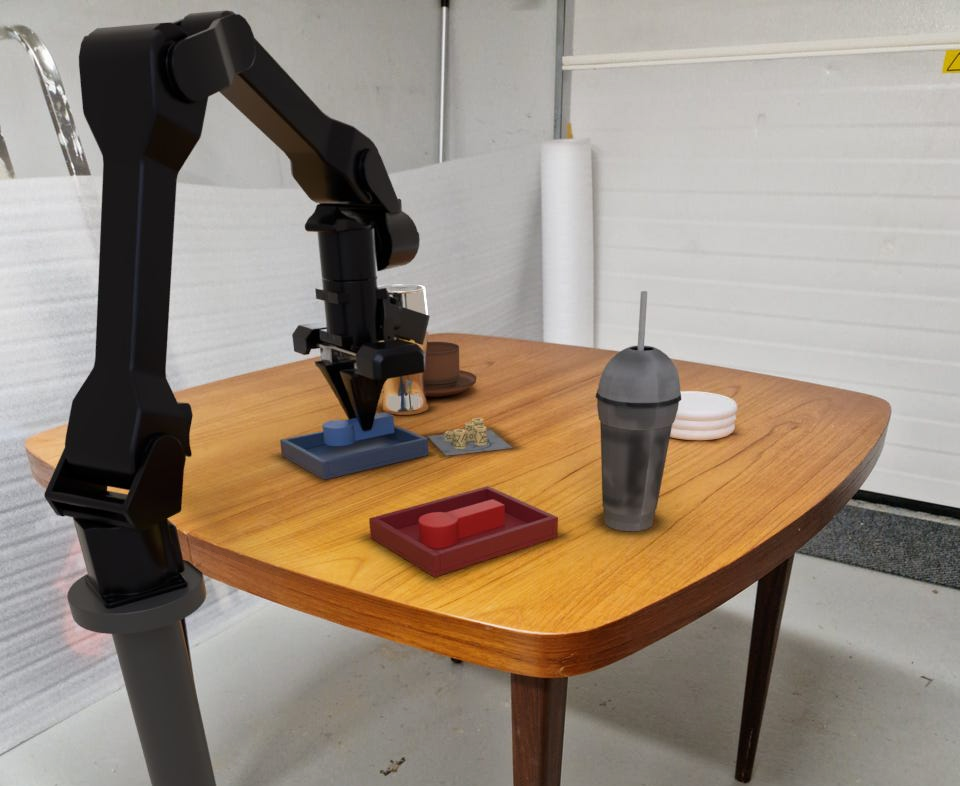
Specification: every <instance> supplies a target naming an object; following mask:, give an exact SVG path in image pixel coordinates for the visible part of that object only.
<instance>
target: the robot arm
mask: <svg viewBox="0 0 960 786" xmlns="http://www.w3.org/2000/svg"><path fill="white" fill-rule="evenodd" d="M78 70H79V82H80V92H81V93H80V94H81V103H82V105H81V106H82V113H83V116H84V119H85V121H86V123H87V125H88V128H89V129H90V132H91V134H92V136H93V138H94V140H95V142H96V145H97V147H98V150H99V151H100V154H101V156H102V163H103V164H102V187H101V209H100V211H101V212H100V234H99V256H98V258H99V259H98V278H97V279H98V281H97V304H96V330H95V331H96V332H95V351H94V352H95V353H94V363H93V367H92V369H91V371H90V372H89V374H88V376H87V377H86V378H85V380H84V382H83V383H82V384H81V386H80V388H79V390H78V391H77V392H76V394H75V396H74V397H73V399H72V402H71V406H70V412H69V417H68V423H67V428H66V434H65V440H64V448H63V450H62V453H61V455H60V457H59V459H58V462H57V465H56V466H55V469H54V471H53V473H52V475H51V477H50V479H49V482H48V483H47V486H46V489H45V491H44V493H43V494H44V498H45V501H46V502H47V503H48V505H49V506H50V508H51V509H52V511H53V512H54V513H55V515H56V516H58V517H68V518H72V521H73V524H74V527H75V531H76V535H77V539H78V543H79V546H80V550H81V553H82V557H83V562H84V565H85V568H86V573H87V574H88V575H86V574H85V575H86V576H85V577H84V579H85V583H86V584H87V585H88V587H89V588H90V589H91V590H92V592H93V593H94V594H95V595H96V597H97V598H98V599H99V600H100V602H101V603H102V604H103V605H104V607H105V608H107V609H112V608H116V607H119V606H123V605H126V604H130V603H133V602H137V601H140V600H144V599H148V598H151V597H155V596H158V595H162V594H165V593H169V592H172V591H176V590H179V589H183V588H186V587H187V586H188V583H187V580H186V579H185V578H184V577H183V576H182V575H181V574H180V573H182V572H184V570H185V567H184V562H183V560H184V558H183V553H182V547H181V543H180V539H179V534H178V528H177V525H175V524H174V523H173V522H172V521H170V520H169V518H171V517H173V516H175V515H177V514H179V513H181V512H182V507H183V493H184V478H185V477H184V475H185V474H184V473H185V466H186V461H187V458H191V457H192V449H191V442H190V440H191V438H190V433H191V427H192V422H193V415H194V414H193V410H192V405H191V404H190V403H189V402H183V401H178V400H177V398H176V396H175V394H174V392H173V389H172V387H171V385H170V382H169V381H168V379H167V355H168V354H167V353H168V337H169V320H170V302H171V284H172V282H171V281H172V267H173V266H172V265H173V253H174V251H173V249H174V233H175V216H176V215H175V214H176V202H177V201H176V199H177V183H178V182H177V181H178V176H179V173H180V171H181V170H182V168H183V167H184V165H185V163H187V162H186V161H187V160H188V159H189V157H190V155H191V154H192V152H193V151H194V149H195V148H196V146H197V144H198V143H199V141H200V140H201V138H202V134H203V127H204V123H205V118H206V113H207V106H208V101H209V97H211V96H213V95H215V94H217V93H219V94H221V95H222V96H223V97H224V98H225V99H226V100H227V101H229V102H230V103H231V104H232V105H233V106H234V107H235V108H236V109H237V110H238V111H239V112H240V113H241V114H242V115H243V116H245V117H246V119H248V120H249V121H250V122H251V123H252V124H253V125H254V126H255V127H256V128H257V129H258V130H259V131H261V132H262V133H263V135H265V136H266V137H267V138H268V139H269V140H270V141H271V142H272V143H273V144H275V146H277V148H279V150H281V151H282V152H283V153H284V154H285V156H286V157H287V159H289V163H290V174H291V176H292V178H293V179H294V180H295V182H296V183H297V184H298V185H299V187H300V188H301V190H302V191H303V192H304V193H305V195H306V196H307V197H308V198H309V199H310V201H312V202H314V203H315V204H316V206H315V210H314V212H312V214H311V215H310V216H309V217H308V218H307V220H306V222H305V224H304V230H305V231H306V232H309V233H316V234H317V242H318V252H319V253H318V254H319V263H320V273H321V283H322V285H321V286H322V287H317V288H315V299H316V300H320V301H322V302H323V304H324V315H325V321H320V322H319V321H318V322H312V323H304V324H298V325H297V326H296V328H295V330H294V331H293V333H292V334H291V337H292V344H293V345H292V346H293V352H295V353H298V354H300V355H303V356H308V355H310V353H311V351H312V350H317V349H319V352H320V359H319V360H315V361H314V364H315V365H314V366H315V367H317V368H318V369H319V371H320V372H321V374H322V376H323V378H324V379H325V381H326V382H327V384H328V385H329V387H330V389H331V390H332V392H333V394H334V396H335V397H336V399H337V401H338V403H339V404H340V406H341V409H343V410H342V411H344V414H345V415H346V417H347V420H348V419H353V418H357V420H358V422H359V424H360V427H361V429H362V430H363V431H368V430H371V429H372V426H373V422H374V418H375V414H377V410H378V405H379V401H380V397H381V394H382V391H383V389H384V383H385V382H386V380H387V379H389V378H395V377H401V376H406V375H412V374H418V373H423V372H425V371H426V364H425V352H424V351H423V350H422V349H421V348H420V347H419V346H418V344H421V345H423V343H424V339H425V335H426V330H427V326H428V327H429V321H430V315H429V314H428V315H426V314H423V313H420V312H417V311H413V310H410V309H407V308H404V307H401V306H400V303H399V299H398V298H395V297H390V296H389V292H388V291H387V288H383V287H378V286H379V277H378V274H379V273H378V272H382V271H386V270H389V269H394V268H398V267H402V266H406V265H407V264H409V263H411V262H412V261H413V260H414V259H415V258H416V257H417V254H418V253H419V252H418V251H419V248H420V241H421V239H420V233H419V232H418V228H417V225H416V223H415V222H414V220H413V219H412V217H410V215H409V214H407V213H406V212H404V211H403V206H402V205H403V204H402V203H403V202H402V199H401V198H398V196H397V193H396V191H395V188H394V186H393V182H392V181H391V178H390V176H389V173H388V170H387V168H386V166H385V163H384V160H383V158H382V156H381V155H380V152H379V150H378V148H377V145H376V144H375V142H374V141H373V140H372V139H371V137H369V136H367V135H366V134H365V133H363V132H362V131H361V130H360V129H358V128H357V127H355V126H354V125H351V124H349V123H346V122H343V121H340V120H338V119H335V118H332V117H331V116H329V115H328V114H326V113H325V112H324V111H323V110H322V109H321V108H320V107H319V106H318V105H317V104H316V103H315V101H314V100H312V99H311V97H310V96H309V95H308V94H307V92H305V91H304V90H303V88H301V86H300V85H299V84H298V83H297V82H296V81H295V80H294V79H293V78H292V76H290V74H289V73H288V72H287V71H286V70H285V69H284V68H283V67H282V66H281V65H280V64H279V62H278V61H277V60H276V59H275V58H274V57H273V56H272V55H271V54H270V52H269V51H268V50H267V49H266V48H265V47H264V46H263V45H262V44H261V43H260V41H259V40H257V38H256V37H255V36H254V33H253V29H252V27H251V25H250V24H249V22H248V21H247V19H246V18H245V17H244V16H243V15H241V14H240V13H235V12H234V11H233V10H215V11H204V12H202V11H201V12H194V13H193V12H191V13H188V14H187V15H185V16H184V17H183V18H179V19H178V20H176V21H171V22H157V23H144V24H143V23H142V24H133V25H132V24H131V25H122V26H121V25H120V26H109V27H97V28H95V29H94V30H93V31H91V32H90V33H89V34H88V35H85V36H83V38H82V40H81V42H80V47H79V53H78ZM394 337H396V338H400V339H397V340H395V339H394ZM401 339H403V340H401ZM404 340H407V341H404ZM410 340H414V341H415V343H418V344H415V343H412V342H408V341H410ZM379 341H383V342H379ZM108 487H109V488H113V489H114V488H115V489H120V490H126V491H128V493H123V492H116V491H111V490H108Z"/></svg>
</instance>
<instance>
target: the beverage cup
mask: <svg viewBox="0 0 960 786" xmlns="http://www.w3.org/2000/svg"><path fill="white" fill-rule="evenodd" d="M639 302H640V303H639V318H638V319H639V320H638V321H639V322H638V335H637V345H632V346H628V347H626V348H624V349H622V350H620V351H619V352H617V353H615V355H614V356H612V357H611V358H610V359H609V361H608V362H607V363H606V364H605V366H604V368H603V370H602V372H601V374H600V378H599V382H598V386H597V390H596V393H595V398H596V399H597V401H596V409H597V416H598V420H599V421H600V422H599V423H600V424H599V425H600V427H599V428H600V455H601V456H600V462H601V463H600V464H601V465H600V466H601V500H602V501H601V502H602V510H603V512H602V513H603V524H604V525H605V526H607V527H608V528H611V529H613V530H616V531H622V532H641V531H644V530H648V529H650V528H651V527H653V525H654V519H655V515H656V510H657V508H658V504H659V497H660V493H661V486H662V483H663V477H664V470H665V465H666V461H667V460H666V459H667V455H668V450H669V444H670V438H671V437H670V434H671V428H672V423H674V421H675V417H676V414H677V411H678V405H679V401H680V400H681V392H680V391H681V383H680V382H681V381H680V375H679V372H678V370H677V367H676V365H675V364H674V362H673V360H672V359H671V358H670V357H669V356H668V355H667V354H666V353H665V352H663V350H661V349H658V348H657V347H654V346H651V345H645V338H646V322H647V320H646V319H647V305H648V291H646V290H642V291H640V301H639Z"/></svg>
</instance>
